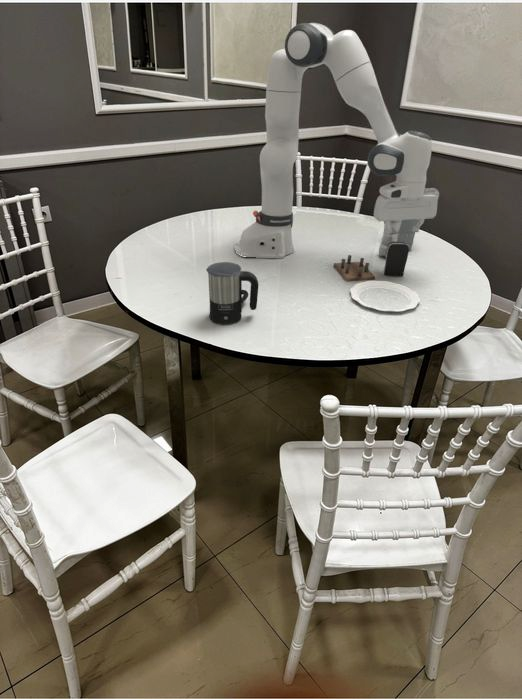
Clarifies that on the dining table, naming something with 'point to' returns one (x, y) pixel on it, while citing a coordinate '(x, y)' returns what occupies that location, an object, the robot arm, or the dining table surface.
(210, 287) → the milk frother
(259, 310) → the dining table surface
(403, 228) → the hard drive box
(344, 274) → the brown pegboard
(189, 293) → the dining table surface
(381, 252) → the plastic bottle
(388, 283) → the plate
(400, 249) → the battery charger
